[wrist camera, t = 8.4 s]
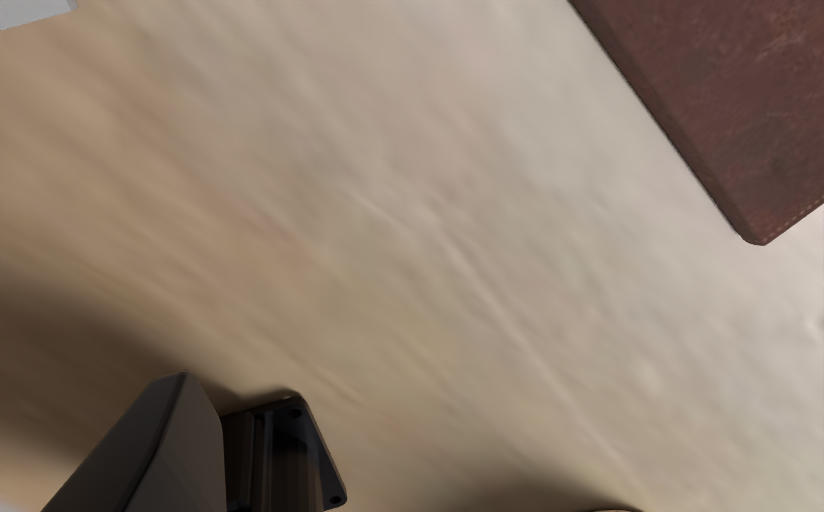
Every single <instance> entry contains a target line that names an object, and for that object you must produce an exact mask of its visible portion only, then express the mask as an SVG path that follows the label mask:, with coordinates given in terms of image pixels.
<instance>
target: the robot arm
mask: <svg viewBox="0 0 824 512" xmlns="http://www.w3.org/2000/svg"><path fill="white" fill-rule="evenodd" d="M292 409H298V411H291V410H292ZM346 501H347V492H346V488H345V485H344V483H343V481H342V479H341V477H340V474H339V472H338V470H337V468H336V465H335V463H334V461H333V459H332V457H331V454H330V452H329V450H328V448H327V445H326V443H325V441H324V439H323V437H322V434H321V432H320V430H319V428H318V425H317V423H316V421H315V419H314V417H313V414H312V412H311V410H310V408H309V405H308V403H307V402H306V401H305V400H304V399H303V398H300V397H290V398H287V399H283V400H280V401H276V402H273V403H269V404H265V405H262V406H258V407H255V408H251V409H248V410H244V411H240V412H237V413H233V414H230V415H226V416H223V417H218V415H217V413H216V411H215V409H214V407H213V406H212V404H211V402H210V400H209V399H208V397H207V395H206V393H205V392H204V390H203V388H202V387H201V385H200V383H199V381H198V380H197V378H196V376H195V375H194V374H193V373H192V372H190V371H187V370H182V371H178V372H175V373H171V374H167V375H164V376H160V377H158V378H155V379H154V380H153V381H152V382H151V383H150V384H149V385H148V386H147V387H146V388H145V389H144V391H143V392H142V393H141V394H140V395H139V396H138V398H137V399H136V400H135V401H134V402H133V404H132V405H131V406H130V407H129V408H128V409H127V411H126V412H125V413H124V414H123V415H122V416H121V418H120V419H119V420H118V421H117V422H116V424H115V425H114V426H113V427H112V428H111V429H110V431H109V432H108V433H107V434H106V435H105V436H104V438H103V439H102V440H101V441H100V442H99V443H98V445H97V446H96V447H95V448H94V449H93V451H92V452H91V453H90V454H89V455H88V456H87V458H86V459H85V460H84V461H83V462H82V463H81V465H80V466H79V467H78V468H77V469H76V471H75V472H74V473H73V474H72V475H71V476H70V478H69V479H68V480H67V481H66V482H65V483H64V485H63V486H62V487H61V488H60V489H59V490H58V492H57V493H56V494H55V495H54V496H53V498H52V499H51V500H50V501H49V502H48V503H47V505H46V506H45V507H44V508H43V509H42V510H41V512H324V511H326V510H330V509H333V508H337V507H340V506H342V505H344V504H345V503H346Z"/></svg>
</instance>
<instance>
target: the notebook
mask: <svg viewBox="0 0 824 512" xmlns="http://www.w3.org/2000/svg"><path fill="white" fill-rule="evenodd" d="M571 1H572V3H573V4H574V5H575V7H576V8H577V10H578V11H579V12H580V14H581V15H582V17H583V18H584V19H585V21H586V22H587V24H588V25H589V26H590V28H591V29H592V30H593V32H594V33H595V35H596V36H597V37H598V39H599V40H600V42H601V43H602V44H603V46H604V47H605V49H606V50H607V51H608V53H609V54H610V55H611V57H612V58H613V60H614V61H615V62H616V64H617V65H618V67H619V68H620V69H621V71H622V72H623V74H624V75H625V76H626V78H627V79H628V80H629V82H630V83H631V85H632V86H633V87H634V89H635V90H636V92H637V93H638V94H639V96H640V97H641V98H642V100H643V101H644V103H645V104H646V105H647V107H648V108H649V110H650V111H651V112H652V114H653V115H654V117H655V118H656V119H657V121H658V122H659V123H660V125H661V126H662V128H663V129H664V130H665V132H666V133H667V135H668V136H669V137H670V139H671V140H672V142H673V143H674V144H675V146H676V147H677V148H678V150H679V151H680V153H681V154H682V155H683V157H684V158H685V160H686V161H687V162H688V164H689V165H690V167H691V168H692V169H693V171H694V172H695V173H696V175H697V176H698V178H699V179H700V180H701V182H702V183H703V185H704V186H705V187H706V189H707V190H708V191H709V193H710V194H711V196H712V197H713V198H714V200H715V201H716V203H717V204H718V205H719V207H720V208H721V210H722V211H723V212H724V214H725V215H726V216H727V218H728V219H729V221H730V222H731V223H732V225H733V226H734V228H735V229H736V230H737V232H738V233H739V235H740V236H741V237H742V239H743V240H745V241H746V242H748V243H750V244H753V245H760V246H765V245H767V244H768V243H770V242H771V241H773V240H774V239H775V238H777V237H778V236H779V235H781V234H782V233H784V232H785V231H786V230H788V229H789V228H790V227H792V226H793V225H795V224H796V223H797V222H799V221H800V220H801V219H803V218H804V217H806V216H807V215H808V214H810V213H811V212H812V211H814V210H815V209H817V208H818V207H819V206H821V205H822V204H823V203H824V0H571Z"/></svg>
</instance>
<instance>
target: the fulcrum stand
mask: <svg viewBox="0 0 824 512" xmlns="http://www.w3.org/2000/svg"><path fill="white" fill-rule="evenodd" d="M77 7H78V5H77V3H76V1H75V0H0V30H4V29H7V28H11V27H15V26H18V25H22V24H26V23H30V22H33V21H37V20H41V19H44V18H48V17H52V16H56V15H59V14H63V13H67V12H70V11H72V10H74V9H75V8H77Z"/></svg>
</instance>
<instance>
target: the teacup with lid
mask: <svg viewBox="0 0 824 512" xmlns="http://www.w3.org/2000/svg"><path fill="white" fill-rule="evenodd" d="M595 512H630V511H623V510H603V511H595Z"/></svg>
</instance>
